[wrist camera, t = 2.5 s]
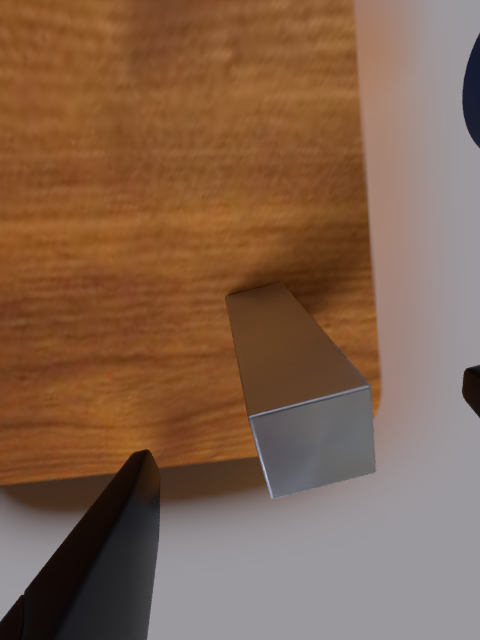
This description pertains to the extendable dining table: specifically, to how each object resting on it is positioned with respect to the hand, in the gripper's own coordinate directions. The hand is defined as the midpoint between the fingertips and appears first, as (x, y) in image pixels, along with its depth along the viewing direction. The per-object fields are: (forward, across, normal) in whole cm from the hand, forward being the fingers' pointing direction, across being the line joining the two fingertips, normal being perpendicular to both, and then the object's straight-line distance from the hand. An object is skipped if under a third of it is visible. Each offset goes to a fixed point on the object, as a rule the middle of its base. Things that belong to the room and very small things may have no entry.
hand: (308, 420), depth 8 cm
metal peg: (+8, 0, 0) cm, 8 cm away
